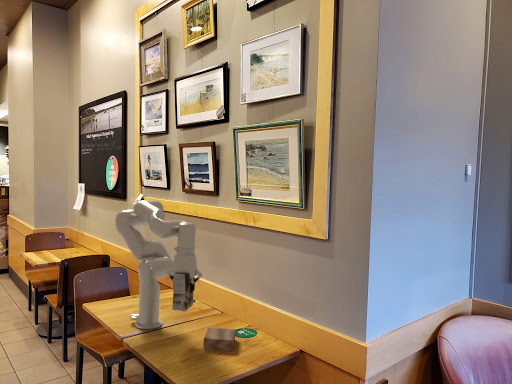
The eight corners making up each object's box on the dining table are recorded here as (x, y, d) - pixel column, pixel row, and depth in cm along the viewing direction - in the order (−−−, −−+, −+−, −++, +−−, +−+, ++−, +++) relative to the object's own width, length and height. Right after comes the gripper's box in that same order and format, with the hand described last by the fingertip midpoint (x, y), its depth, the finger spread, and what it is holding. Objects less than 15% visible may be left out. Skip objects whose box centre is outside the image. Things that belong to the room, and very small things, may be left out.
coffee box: (185, 311, 165) (187, 274, 165) (171, 310, 167) (173, 272, 166) (193, 305, 174) (195, 269, 174) (180, 303, 175) (181, 268, 175)
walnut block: (203, 350, 162) (203, 338, 162) (208, 338, 174) (208, 327, 174) (231, 352, 161) (232, 340, 161) (234, 340, 173) (235, 329, 173)
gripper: (163, 250, 167) (161, 291, 167) (202, 254, 165) (200, 295, 165) (169, 247, 174) (167, 287, 175) (207, 251, 172) (205, 290, 173)
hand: (183, 291), depth 170 cm, fingers closed on coffee box, 6 cm apart
